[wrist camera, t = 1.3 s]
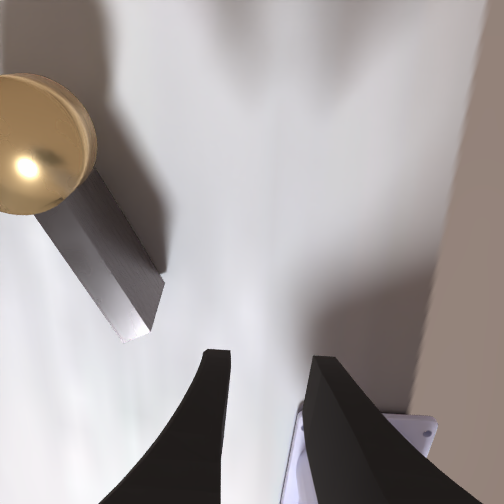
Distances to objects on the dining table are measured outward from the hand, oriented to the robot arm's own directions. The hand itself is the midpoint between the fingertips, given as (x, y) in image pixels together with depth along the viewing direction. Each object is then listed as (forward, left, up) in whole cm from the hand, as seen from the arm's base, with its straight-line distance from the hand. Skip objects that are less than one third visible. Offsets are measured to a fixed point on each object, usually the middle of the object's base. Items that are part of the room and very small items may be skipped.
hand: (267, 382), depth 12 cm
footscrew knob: (+2, +7, -9) cm, 12 cm away
